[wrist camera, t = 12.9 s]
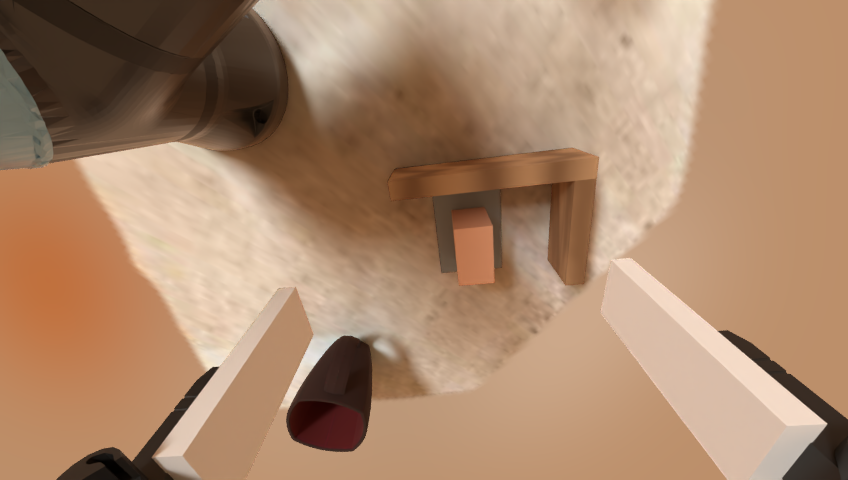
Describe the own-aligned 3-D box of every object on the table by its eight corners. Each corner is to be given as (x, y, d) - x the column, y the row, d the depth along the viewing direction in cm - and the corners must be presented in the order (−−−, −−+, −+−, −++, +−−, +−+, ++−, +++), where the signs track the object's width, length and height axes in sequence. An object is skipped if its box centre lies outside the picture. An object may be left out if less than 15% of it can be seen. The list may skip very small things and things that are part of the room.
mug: (317, 367, 49) (283, 443, 38) (326, 301, 43) (289, 368, 33) (376, 379, 50) (359, 457, 39) (393, 316, 44) (379, 386, 33)
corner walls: (411, 271, 41) (408, 298, 35) (395, 168, 35) (387, 181, 29) (563, 258, 39) (583, 283, 34) (572, 147, 33) (599, 157, 28)
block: (451, 210, 37) (453, 229, 31) (484, 206, 36) (492, 225, 31) (455, 260, 39) (459, 285, 34) (486, 257, 39) (494, 282, 34)
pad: (441, 272, 41) (441, 272, 40) (432, 194, 36) (432, 194, 36) (501, 266, 40) (501, 267, 40) (499, 186, 35) (500, 187, 35)
